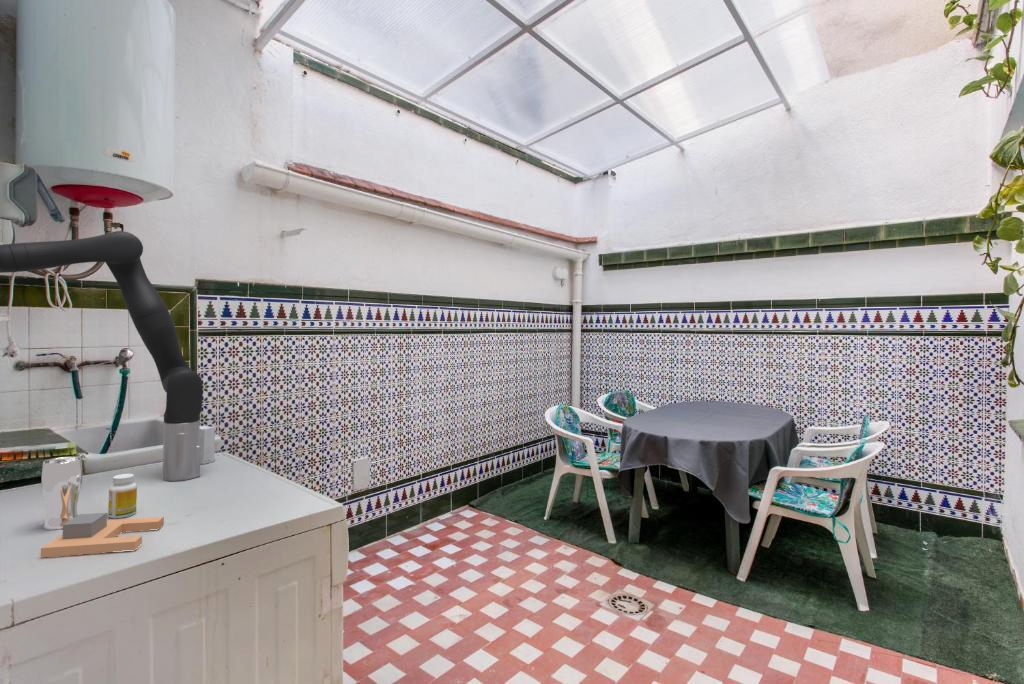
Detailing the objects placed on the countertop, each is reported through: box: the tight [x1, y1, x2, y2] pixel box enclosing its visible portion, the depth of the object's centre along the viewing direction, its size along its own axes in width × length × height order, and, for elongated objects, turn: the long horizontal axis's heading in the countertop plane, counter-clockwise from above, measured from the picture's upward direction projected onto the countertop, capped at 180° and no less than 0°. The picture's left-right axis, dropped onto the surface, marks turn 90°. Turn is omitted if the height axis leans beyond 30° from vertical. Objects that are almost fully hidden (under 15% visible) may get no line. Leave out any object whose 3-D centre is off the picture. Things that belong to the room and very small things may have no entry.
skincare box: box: [199, 425, 216, 465], centre depth 169 cm, size 6×4×12 cm
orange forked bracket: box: [40, 512, 165, 559], centre depth 106 cm, size 16×14×5 cm
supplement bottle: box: [107, 473, 138, 520], centre depth 121 cm, size 5×5×10 cm
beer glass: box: [40, 456, 83, 531], centre depth 114 cm, size 7×7×15 cm
